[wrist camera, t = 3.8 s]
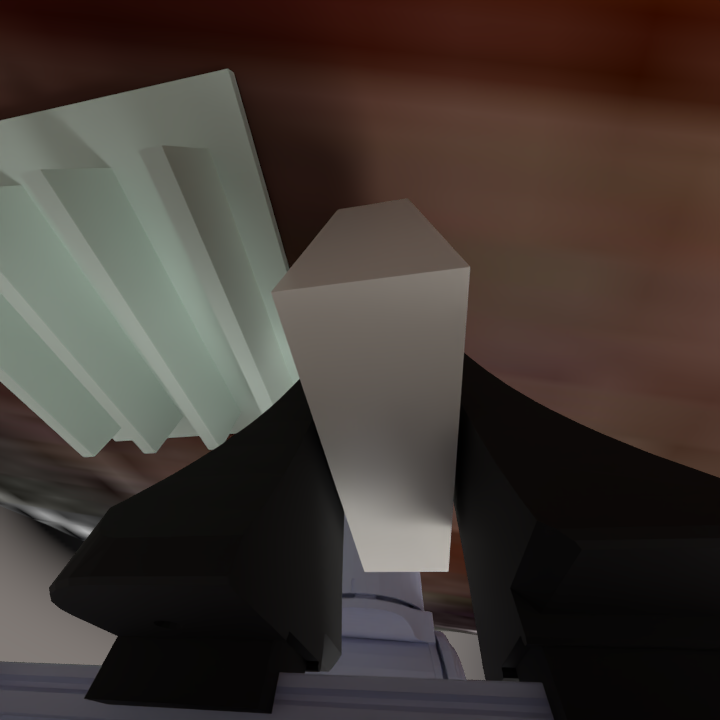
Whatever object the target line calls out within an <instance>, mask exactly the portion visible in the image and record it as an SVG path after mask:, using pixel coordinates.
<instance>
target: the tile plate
mask: <svg viewBox="0 0 720 720" xmlns="http://www.w3.org/2000/svg"><path fill="white" fill-rule="evenodd" d="M469 276H470V266H469V265H468V264H467V263H466V262H465V261H464V260H463V258H462V257H461V256H460V255H459V254H458V253H457V252H456V251H455V250H454V249H453V248H452V246H451V245H450V244H449V243H448V242H447V241H446V240H445V239H444V238H443V237H442V235H441V234H440V233H439V232H438V231H437V230H436V229H435V228H434V227H433V226H432V224H431V223H430V222H429V221H428V220H427V219H426V218H425V217H424V216H423V215H422V213H421V212H420V211H419V210H418V209H417V208H416V207H415V206H414V205H413V204H412V203H411V201H410V200H409V199H408V198H407V199H401V200H395V201H388V202H382V203H376V204H369V205H363V206H357V207H351V208H344V209H338V210H337V211H336V212H335V214H334V215H333V216H332V217H331V219H330V220H329V221H328V222H327V223H326V225H325V226H324V227H323V228H322V230H321V231H320V232H319V233H318V235H317V236H316V237H315V238H314V240H313V241H312V242H311V243H310V244H309V246H308V247H307V248H306V249H305V251H304V252H303V253H302V254H301V256H300V257H299V258H298V259H297V261H296V262H295V263H294V264H293V265H292V267H291V268H290V269H289V270H288V272H287V273H286V274H285V275H284V277H283V278H282V279H281V280H280V282H279V283H278V284H277V285H276V286H275V288H274V289H273V290H272V291H271V294H272V297H273V300H274V303H275V306H276V309H277V312H278V315H279V318H280V321H281V324H282V327H283V330H284V333H285V336H286V339H287V342H288V345H289V348H290V351H291V354H292V357H293V360H294V363H295V366H296V369H297V372H298V375H299V378H300V381H301V384H302V387H303V390H304V393H305V396H306V399H307V402H308V405H309V408H310V411H311V414H312V417H313V420H314V423H315V426H316V429H317V432H318V435H319V438H320V441H321V444H322V447H323V450H324V453H325V456H326V459H327V462H328V465H329V468H330V471H331V474H332V477H333V480H334V483H335V486H336V489H337V491H338V494H339V497H340V500H341V503H342V506H343V509H344V512H345V515H346V518H347V521H348V524H349V527H350V530H351V533H352V536H353V539H354V542H355V545H356V548H357V551H358V554H359V557H360V560H361V563H362V566H363V569H364V572H448V569H449V555H450V541H451V527H452V513H453V499H454V485H455V471H456V457H457V443H458V429H459V415H460V401H461V387H462V373H463V359H464V345H465V332H466V318H467V304H468V290H469Z"/></svg>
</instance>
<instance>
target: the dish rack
mask: <svg viewBox="0 0 720 720" xmlns="http://www.w3.org/2000/svg"><path fill="white" fill-rule="evenodd" d="M288 270H289V266H288V262H287V259H286V255H285V252H284V248H283V244H282V241H281V237H280V234H279V230H278V227H277V223H276V220H275V216H274V213H273V209H272V206H271V202H270V199H269V195H268V191H267V188H266V184H265V181H264V177H263V174H262V170H261V167H260V163H259V160H258V156H257V153H256V149H255V146H254V142H253V138H252V135H251V131H250V128H249V124H248V121H247V117H246V114H245V110H244V107H243V103H242V100H241V96H240V93H239V89H238V85H237V82H236V78H235V75H234V72H232V71H231V70H229V69H224V70H219V71H215V72H211V73H206V74H202V75H198V76H193V77H189V78H184V79H180V80H176V81H171V82H167V83H163V84H158V85H154V86H149V87H145V88H141V89H136V90H132V91H128V92H123V93H119V94H114V95H110V96H106V97H101V98H97V99H92V100H88V101H84V102H79V103H75V104H71V105H66V106H62V107H57V108H53V109H49V110H44V111H40V112H36V113H31V114H27V115H22V116H18V117H14V118H9V119H5V120H1V121H0V381H1V382H2V383H3V384H4V385H5V386H6V387H7V388H8V389H9V390H10V391H12V392H13V393H14V394H15V395H16V396H17V397H18V398H19V399H20V400H21V401H23V402H24V403H25V404H26V405H27V406H28V407H29V408H30V409H31V410H32V411H33V412H35V413H36V414H37V415H38V416H39V417H40V418H41V419H42V420H43V421H44V422H46V423H47V424H48V425H49V426H50V427H51V428H52V429H53V430H54V431H55V432H56V433H58V434H59V435H60V436H61V437H62V438H63V439H64V440H65V441H66V442H67V443H69V444H70V445H71V446H72V447H73V448H74V449H75V450H76V451H77V452H78V453H80V454H81V455H82V456H83V457H94V456H96V454H97V453H98V452H99V451H100V450H101V449H102V448H103V447H104V446H105V445H106V444H107V443H108V442H109V441H110V440H111V439H112V438H113V439H114V440H115V441H128V440H133V441H134V443H135V444H136V445H137V446H138V447H139V448H140V449H141V450H142V452H143V453H144V454H146V453H156V452H157V451H158V450H159V448H160V447H161V446H162V444H163V443H164V442H165V440H166V439H167V438H174V437H190V436H200V438H201V439H202V441H203V442H204V444H205V445H206V446H207V448H208V449H209V450H214V449H215V448H217V447H218V446H220V445H221V444H223V443H224V442H225V441H226V439H227V437H228V436H229V434H236V433H238V432H239V431H241V430H242V429H244V428H245V427H246V426H248V425H249V424H250V423H252V422H253V421H254V420H256V419H257V418H258V417H259V416H260V415H262V414H263V413H264V412H265V411H266V410H268V409H269V408H270V407H271V406H272V405H273V404H274V403H276V402H277V401H278V400H279V399H280V398H281V397H282V396H283V395H284V394H285V393H286V392H287V391H288V390H289V389H290V388H291V387H292V386H293V385H294V384H295V383H296V382H297V381H298V380H299V379H300V378H299V375H298V372H297V369H296V366H295V363H294V360H293V357H292V354H291V351H290V348H289V345H288V342H287V339H286V336H285V333H284V330H283V327H282V324H281V321H280V318H279V315H278V312H277V309H276V306H275V303H274V300H273V297H272V294H271V291H272V290H273V289H274V288H275V286H276V285H277V284H278V283H279V282H280V280H281V279H282V278H283V277H284V275H285V274H286V273H287V272H288Z"/></svg>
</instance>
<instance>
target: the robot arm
mask: <svg viewBox="0 0 720 720" xmlns="http://www.w3.org/2000/svg"><path fill="white" fill-rule="evenodd" d="M453 501H454V506H455V511H456V516H457V522H458V527H459V532H460V538H461V543H462V548H463V554H464V559H465V565H466V570H467V576H468V581H469V587H470V593H471V598H472V604H473V610H474V616H475V622H476V628H477V634H478V640H479V646H480V652H481V658H482V664H483V669H484V674H485V679H486V680H466V677H465V674H464V670H463V667H462V665H461V662H460V659H459V657H458V655H457V653H456V651H455V649H454V648H453V647H452V646H451V644H450V643H449V641H448V639H447V638H446V636H445V635H444V634H443V633H442V632H440V631H434V625H433V617H432V613H431V612H428V611H424V607H423V597H422V588H421V579H420V572H364V569H363V566H362V563H361V560H360V557H359V554H358V551H357V548H356V545H355V542H354V539H353V536H352V533H351V530H350V527H349V524H348V521H347V518H346V515H345V512H344V509H343V506H342V503H341V500H340V497H339V494H338V491H337V489H336V486H335V483H334V480H333V477H332V474H331V471H330V468H329V465H328V462H327V459H326V456H325V453H324V450H323V447H322V444H321V441H320V438H319V435H318V432H317V429H316V426H315V423H314V420H313V417H312V414H311V411H310V408H309V405H308V402H307V399H306V396H305V393H304V390H303V387H302V384H301V381H300V379H299V380H298V381H297V382H296V383H295V384H294V385H293V386H292V387H291V388H290V389H289V390H288V391H287V392H286V393H285V394H284V395H283V396H282V397H281V398H280V399H279V400H278V401H277V402H276V403H274V404H273V405H272V406H271V407H270V408H269V409H268V410H266V411H265V412H264V413H263V414H262V415H260V416H259V417H258V418H257V419H256V420H254V421H253V422H252V423H250V424H249V425H248V426H246V427H245V428H244V429H242V430H241V431H239V432H238V433H237V434H235V435H234V436H232V437H231V438H230V439H228V440H227V441H225V442H224V443H223V444H221V445H220V446H218V447H217V448H215V449H214V450H212V451H211V452H209V453H207V454H206V455H204V456H203V457H201V458H200V459H198V460H196V461H195V462H193V463H191V464H190V465H188V466H186V467H185V468H183V469H181V470H180V471H178V472H176V473H175V474H173V475H171V476H169V477H168V478H166V479H164V480H162V481H160V482H158V483H156V484H155V485H153V486H151V487H149V488H147V489H145V490H143V491H142V492H140V493H138V494H136V495H134V496H132V497H130V498H129V499H127V500H125V501H123V502H121V503H119V504H117V505H115V506H113V507H111V508H110V509H109V510H108V511H107V513H106V514H105V515H104V517H103V518H102V519H101V521H100V522H99V523H98V524H97V526H96V527H95V528H94V530H93V531H92V532H91V534H90V535H89V536H88V538H87V539H86V540H85V541H84V543H83V544H82V546H81V547H80V548H79V549H78V551H77V552H76V553H75V555H74V556H73V557H72V558H71V560H70V561H69V562H68V564H67V565H66V566H65V568H64V569H63V570H62V572H61V573H60V574H59V575H58V577H57V578H56V579H55V581H54V582H53V583H52V585H51V586H50V587H49V591H50V597H51V601H52V602H53V603H54V604H55V605H56V606H58V607H59V608H60V609H62V610H64V611H65V612H67V613H69V614H71V615H73V616H75V617H77V618H80V619H82V620H84V621H86V622H88V623H91V624H93V625H95V626H97V627H99V628H101V629H104V630H106V631H108V632H110V633H112V634H115V635H117V636H118V637H117V639H116V641H115V642H114V644H113V646H112V648H111V650H110V652H109V653H108V655H107V657H106V659H105V661H104V662H103V664H102V665H76V664H50V663H25V662H0V720H720V478H718V477H716V476H713V475H710V474H707V473H704V472H701V471H699V470H696V469H693V468H690V467H687V466H685V465H682V464H679V463H676V462H673V461H670V460H668V459H665V458H662V457H659V456H656V455H653V454H651V453H648V452H646V451H643V450H641V449H638V448H636V447H633V446H631V445H628V444H626V443H623V442H621V441H618V440H616V439H614V438H611V437H609V436H606V435H604V434H602V433H599V432H597V431H595V430H593V429H590V428H588V427H586V426H583V425H581V424H579V423H577V422H575V421H573V420H571V419H569V418H567V417H565V416H563V415H561V414H559V413H556V412H554V411H552V410H550V409H549V408H547V407H545V406H543V405H541V404H539V403H537V402H535V401H534V400H532V399H530V398H529V397H527V396H525V395H523V394H522V393H520V392H518V391H517V390H515V389H513V388H512V387H510V386H508V385H507V384H505V383H504V382H502V381H501V380H499V379H498V378H497V377H495V376H494V375H492V374H491V373H489V372H488V371H487V370H485V369H484V368H483V367H481V366H480V365H479V364H477V363H476V362H475V361H474V360H472V359H471V358H470V357H469V356H467V355H466V354H465V353H464V359H463V373H462V387H461V401H460V415H459V429H458V443H457V457H456V471H455V485H454V499H453Z"/></svg>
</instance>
